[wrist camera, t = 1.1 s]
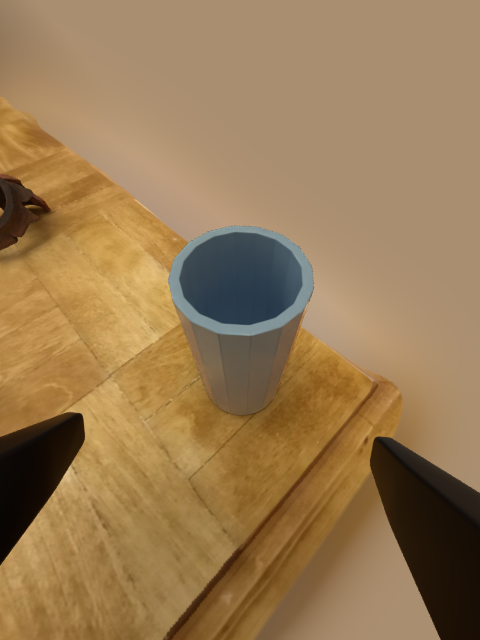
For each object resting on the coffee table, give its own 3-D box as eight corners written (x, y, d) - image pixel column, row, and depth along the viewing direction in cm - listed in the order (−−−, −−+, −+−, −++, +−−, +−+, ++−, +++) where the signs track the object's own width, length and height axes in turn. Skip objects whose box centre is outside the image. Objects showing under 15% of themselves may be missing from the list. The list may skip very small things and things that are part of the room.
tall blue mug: (279, 418, 21) (319, 340, 10) (198, 412, 21) (153, 329, 10) (279, 320, 26) (306, 196, 15) (213, 316, 26) (192, 192, 15)
